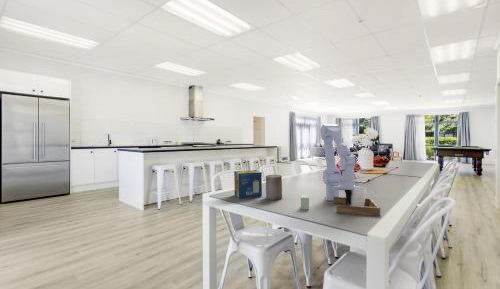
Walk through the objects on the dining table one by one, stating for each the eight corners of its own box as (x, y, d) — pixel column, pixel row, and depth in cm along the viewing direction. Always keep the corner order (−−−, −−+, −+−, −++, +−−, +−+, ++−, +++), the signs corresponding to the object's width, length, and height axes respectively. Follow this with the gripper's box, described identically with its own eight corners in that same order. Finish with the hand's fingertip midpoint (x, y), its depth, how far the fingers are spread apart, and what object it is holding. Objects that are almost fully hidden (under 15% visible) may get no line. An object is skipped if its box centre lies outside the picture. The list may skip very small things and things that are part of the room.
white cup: (361, 205, 133) (363, 186, 132) (367, 209, 125) (369, 190, 125) (346, 203, 134) (348, 185, 133) (351, 208, 126) (353, 188, 125)
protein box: (234, 195, 161) (233, 171, 160) (256, 193, 165) (256, 170, 165) (238, 198, 151) (238, 173, 150) (262, 196, 155) (262, 171, 155)
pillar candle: (281, 196, 155) (281, 172, 155) (282, 200, 146) (281, 174, 145) (266, 196, 156) (265, 172, 156) (265, 200, 146) (265, 174, 146)
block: (301, 206, 131) (301, 195, 131) (309, 207, 130) (308, 195, 130) (300, 209, 127) (300, 197, 127) (308, 209, 126) (308, 197, 126)
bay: (333, 203, 138) (333, 196, 138) (370, 204, 133) (370, 198, 133) (336, 213, 120) (336, 205, 120) (380, 215, 115) (380, 208, 115)
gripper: (334, 179, 128) (334, 205, 128) (364, 179, 124) (364, 207, 124) (333, 177, 134) (333, 202, 135) (362, 177, 131) (362, 203, 131)
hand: (348, 204), depth 130 cm, fingers closed, pressing on white cup
